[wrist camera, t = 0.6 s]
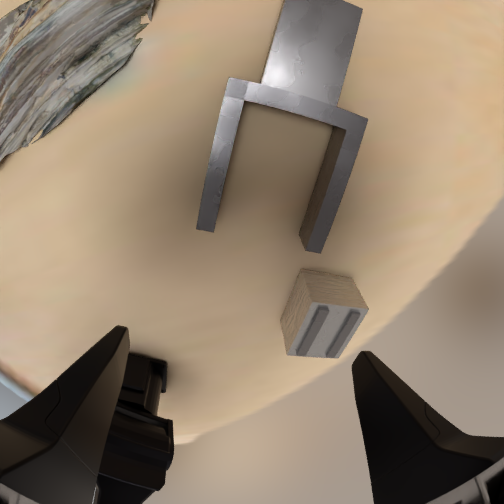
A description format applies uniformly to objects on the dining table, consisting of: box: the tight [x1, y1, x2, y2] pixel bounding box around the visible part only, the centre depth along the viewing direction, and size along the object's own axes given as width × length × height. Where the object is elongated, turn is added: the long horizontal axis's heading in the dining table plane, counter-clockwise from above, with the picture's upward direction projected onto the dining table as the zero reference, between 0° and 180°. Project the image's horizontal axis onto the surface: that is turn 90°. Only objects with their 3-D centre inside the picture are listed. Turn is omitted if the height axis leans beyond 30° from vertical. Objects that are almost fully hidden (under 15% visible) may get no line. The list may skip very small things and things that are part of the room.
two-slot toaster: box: [280, 269, 369, 358], centre depth 24 cm, size 6×5×5 cm
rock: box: [0, 0, 154, 161], centre depth 11 cm, size 23×7×15 cm
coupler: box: [196, 0, 368, 254], centre depth 16 cm, size 18×9×2 cm, turn 166°
